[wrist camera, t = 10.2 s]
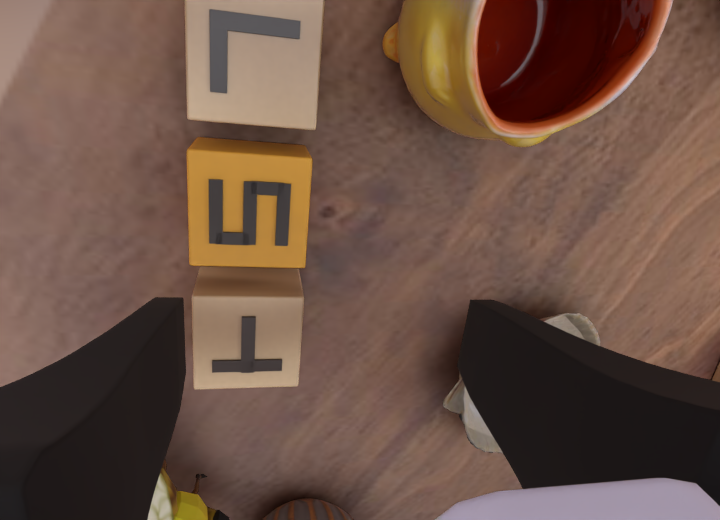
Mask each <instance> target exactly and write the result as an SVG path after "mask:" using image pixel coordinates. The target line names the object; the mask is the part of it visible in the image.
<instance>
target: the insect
mask: <svg viewBox="0 0 720 520" xmlns="http://www.w3.org/2000/svg"><path fill="white" fill-rule="evenodd" d="M166 467H167V464H166V461H165V459H164V462H163V466H162V469H161V472H160V475H159V478H158V482H157V485H156V488H155V491H154V495H153V499H152V502H151V506H150V510H149V514H148V519H147V520H229V517H228V516H226V515H225V514H224V513H222V512H221V511H220V510H215V509H212V508H210V507H207V506H206V505H205V504H204V502H203V501H202V499H201V498H200V497H199V495H197V493H198V490H199V478H204V477H207V476H206V475H204V474H201V475H199V474H197V475H196V478H197V479H196V483H195V488H194V490H193V492H192V493H188V492H183V491H177V489H176V488H175V486H174V485H173V483H172V481H171V480H170V478H169V476H168V475H167V473H166Z"/></svg>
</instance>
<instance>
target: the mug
mask: <svg viewBox="0 0 720 520" xmlns="http://www.w3.org/2000/svg"><path fill="white" fill-rule="evenodd" d="M672 3H673V0H403V4H402V7H401V11H400V15H399V20H398V22H397V23H395V24H394V25H393V26H392V27H390V28H389V30H388V31H387V32H386V33H385V35H384V38H383V43H382V45H383V51H384V53H385V55H386V56H387V57H388V58H389V59H391V60H393V61H395V62H398V63H399V65H400V69H401V73H402V76H403V79H404V82H405V84H406V86H407V89H408V91H409V93H410V94H411V96H412V98H413V99H414V101H415V102H416V104H417V105H418V106H419V108H420V109H421V110H422V111H423V112H424V113H425V114H426V115H427V116H428V117H429V118H430V119H431V120H433V121H434V122H435V123H437V124H438V125H440V126H441V127H443V128H445V129H447V130H449V131H451V132H453V133H455V134H458V135H461V136H464V137H468V138H473V139H479V140H481V139H482V140H497V141H503V142H505V143H506V144H508V145H511V146H515V147H530V146H533V145H536V144H539V143H540V142H542V141H544V140H545V139H546V138H548V137H549V136H550V135H551V134H552V133H555V132H558V131H560V130H562V129H565V128H567V127H569V126H572V125H574V124H576V123H579V122H581V121H583V120H585V119H587V118H589V117H591V116H592V115H594V114H595V113H597V112H599V111H600V110H602V109H603V108H604V107H606V106H607V105H608V104H610V103H611V102H612V101H613V100H615V99H616V98H617V97H618V96H619V95H620V94H621V93H623V91H624V90H625V89H626V88H627V87H628V86H629V85H630V84H631V83H632V81H633V80H634V79H635V78H636V76H637V75H638V74H639V72H640V71H641V70H642V68H643V67H644V66H645V64H646V63H647V61H648V60H649V58H650V57H652V56H653V54H654V53H655V51H656V49H657V46H658V41H659V39H660V36H661V34H662V32H663V30H664V27H665V25H666V22H667V19H668V16H669V13H670V10H671V7H672Z"/></svg>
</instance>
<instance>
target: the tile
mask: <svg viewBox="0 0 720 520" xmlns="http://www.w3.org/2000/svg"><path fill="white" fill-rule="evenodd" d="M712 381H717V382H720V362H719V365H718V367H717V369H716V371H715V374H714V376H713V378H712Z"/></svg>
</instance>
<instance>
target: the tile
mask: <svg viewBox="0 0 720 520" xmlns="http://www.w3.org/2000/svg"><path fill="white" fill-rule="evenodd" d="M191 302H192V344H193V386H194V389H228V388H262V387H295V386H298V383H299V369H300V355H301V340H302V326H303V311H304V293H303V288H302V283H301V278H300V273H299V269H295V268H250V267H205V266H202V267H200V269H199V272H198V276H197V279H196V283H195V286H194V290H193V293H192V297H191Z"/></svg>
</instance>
